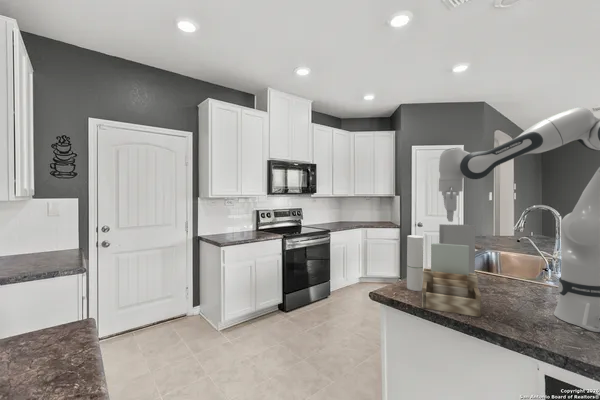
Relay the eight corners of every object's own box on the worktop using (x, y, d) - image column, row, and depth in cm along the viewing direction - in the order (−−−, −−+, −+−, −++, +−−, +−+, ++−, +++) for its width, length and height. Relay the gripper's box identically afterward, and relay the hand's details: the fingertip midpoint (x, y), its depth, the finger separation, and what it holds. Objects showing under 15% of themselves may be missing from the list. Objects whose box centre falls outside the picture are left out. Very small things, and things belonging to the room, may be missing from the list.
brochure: (468, 285, 138) (469, 224, 137) (474, 289, 133) (475, 226, 132) (438, 284, 140) (439, 224, 139) (443, 288, 134) (444, 225, 133)
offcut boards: (465, 306, 113) (466, 274, 113) (467, 312, 108) (468, 279, 107) (433, 301, 118) (433, 271, 118) (432, 307, 113) (433, 275, 112)
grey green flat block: (467, 302, 117) (468, 245, 116) (468, 304, 115) (469, 246, 114) (430, 297, 123) (431, 242, 122) (430, 298, 121) (431, 243, 121)
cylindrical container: (421, 286, 137) (422, 235, 136) (424, 291, 130) (424, 238, 129) (406, 285, 139) (406, 235, 138) (407, 290, 132) (408, 237, 131)
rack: (475, 302, 118) (475, 273, 117) (480, 317, 104) (481, 285, 103) (423, 294, 126) (423, 268, 126) (421, 307, 112) (422, 277, 112)
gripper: (461, 187, 107) (460, 223, 107) (457, 187, 125) (456, 218, 126) (442, 187, 110) (442, 222, 110) (441, 187, 128) (441, 217, 129)
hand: (449, 220), depth 118 cm, fingers open, 8 cm apart
